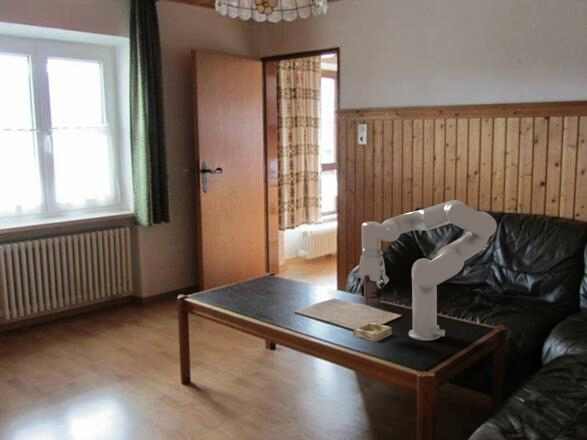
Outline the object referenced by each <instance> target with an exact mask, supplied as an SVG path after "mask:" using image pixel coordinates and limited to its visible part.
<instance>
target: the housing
mask: <svg viewBox="0 0 587 440" xmlns="http://www.w3.org/2000/svg"><path fill="white" fill-rule="evenodd" d="M392 334H393V333H392V327H391V326H388V325H383V324H380V323H374V322H370V321H369V322H367V323H364V324H362V325H360V326H357V327H355V328H353V337H356V338H360V339H364V340H368V341H372V342H375V343H377V342H378V341H381V340H383V339H384V338H387V337H389V336H391V335H392Z"/></svg>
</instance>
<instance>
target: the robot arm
mask: <svg viewBox="0 0 587 440" xmlns="http://www.w3.org/2000/svg"><path fill="white" fill-rule="evenodd" d="M449 224H450V225H451V224H453V225H455V226H456V227H459V228H460V229H462V230H464V231H467V232H466V233H465V234H463V235H462V236H461V237H459V238H458V239H456V240H453V241H452V242H450V243H449V244H447V245H445V246H443V247H441V248H439V250H437V253H436V256H435V257H434V258H432V259H429V258H425V257H424V258H419V259H417V260H416V261H415V262H414V263H413V264H412V268H411V285H412V286H411V287H412V289H411V290H412V295H411V297H412V298H411V299H412V301H411V302H412V329H410V330H409V331H408V337H410V338H412V339H414V340H417V341H426V342H427V341H434V340H437V339H440V338H441V337H442V338H443V337H445V336H446V335H445V334H446V330H445V329H440V325H438V323H437V320H438V319H437V318H438V317H437V315H438V314H437V313H438V312H437V308H438V307H437V301H438V300H437V299H438V296H437V295H438V293H437V291H438V290H437V285H441V283H444V282H445V281H447V280H449V279H451V278H452V277H454V276H456V275H457V274H458V273H460V272H461V271H462V269H463V267H464V265H465V261H466V260H467V261H468V259H470V258H471V257H473V256H474V255H477V254H478V253H479V252H480V251H482V250H483V249H484V248H485V247H486V245H487V243H488V241H489V240H490V237H491V236H493V235H494V234H495V233H496V231H497V225H498V224H497V220H496V219H494V217H493V216H491V214H489V213H487V212H485V211H478V210H477V209H474V208H472V207H470V206H468V205H466V204H465V203H463V201H460V200H458V199H452V200H448V201H445V202H442V203H439V204H435V205H432V206H428V207H424V208H422V209H419V210H415V211H410V212H408V213H403V214H400V215H396V216H393V217H389V218H387V219H386V220H383V222H382V223H380V222H378V221H365V222H363V223H362V224H361V255H360V258H359V259H360V260H359V267H358V268H359V269H358V271H357V272H356V273H355V274H354V276H355V278H356V279H357V281H358V282H359V285H360V289H361V290H360V291H361V295H362V296H364V275H369V277H370V280H371V281H375V282H376V284H377V286H378V288H377V298H380V299H381V298H382V297H384V296H383V295H384V287H385V286H386V285H387V283H388V282H389V281H390V278H389V277H388V276H387V275H386V268H385V261H384V257H383V254H384V251H383V250H382V245H381V244H382V243H381V241H383V242H394V241H395V242H396V240H398V239H399V238H400V236H401V235H402V234H404V233H408V232H412V231H430V230H433V229H436V228H439V227H442V226H447V225H449ZM379 282H380V283H379Z"/></svg>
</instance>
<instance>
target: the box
mask: <svg viewBox="0 0 587 440" xmlns="http://www.w3.org/2000/svg"><path fill="white" fill-rule="evenodd" d="M379 283H380V282H379ZM377 288H378V286H377V284H376V282H375V281H371V280H370V277H369V275H364V295H363V302H364V304H365V305H367V306H368V305H377V304H379V305H381V297H380V298H377Z"/></svg>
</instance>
